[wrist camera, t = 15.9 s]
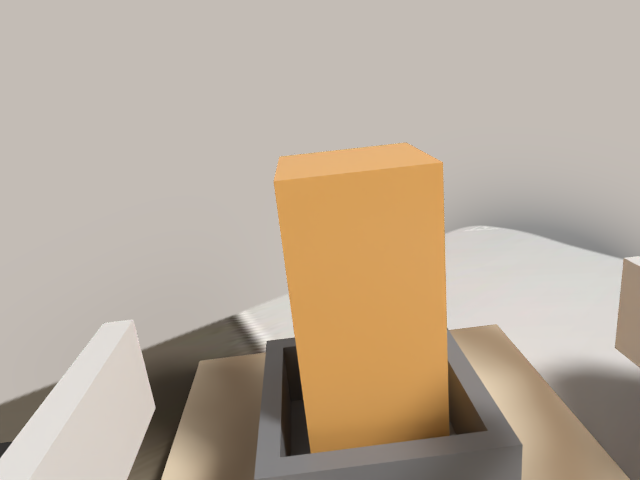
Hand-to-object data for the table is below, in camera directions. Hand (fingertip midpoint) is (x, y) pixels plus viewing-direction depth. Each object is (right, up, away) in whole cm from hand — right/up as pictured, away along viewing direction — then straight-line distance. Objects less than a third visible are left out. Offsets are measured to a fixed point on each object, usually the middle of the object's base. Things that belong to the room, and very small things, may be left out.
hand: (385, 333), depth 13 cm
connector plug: (+1, -6, +7) cm, 9 cm away
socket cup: (+1, -6, +7) cm, 10 cm away
